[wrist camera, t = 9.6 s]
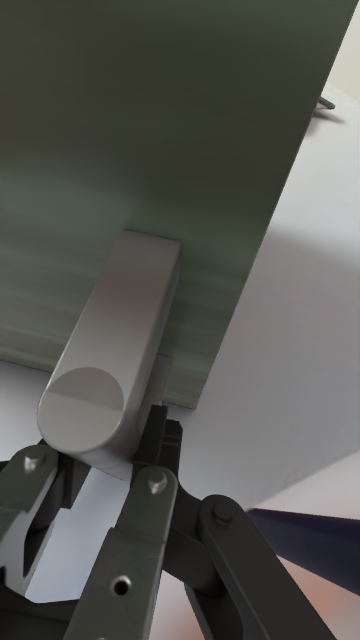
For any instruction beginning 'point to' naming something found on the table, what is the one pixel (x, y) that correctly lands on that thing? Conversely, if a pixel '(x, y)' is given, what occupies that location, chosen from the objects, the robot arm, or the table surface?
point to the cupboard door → (142, 192)
